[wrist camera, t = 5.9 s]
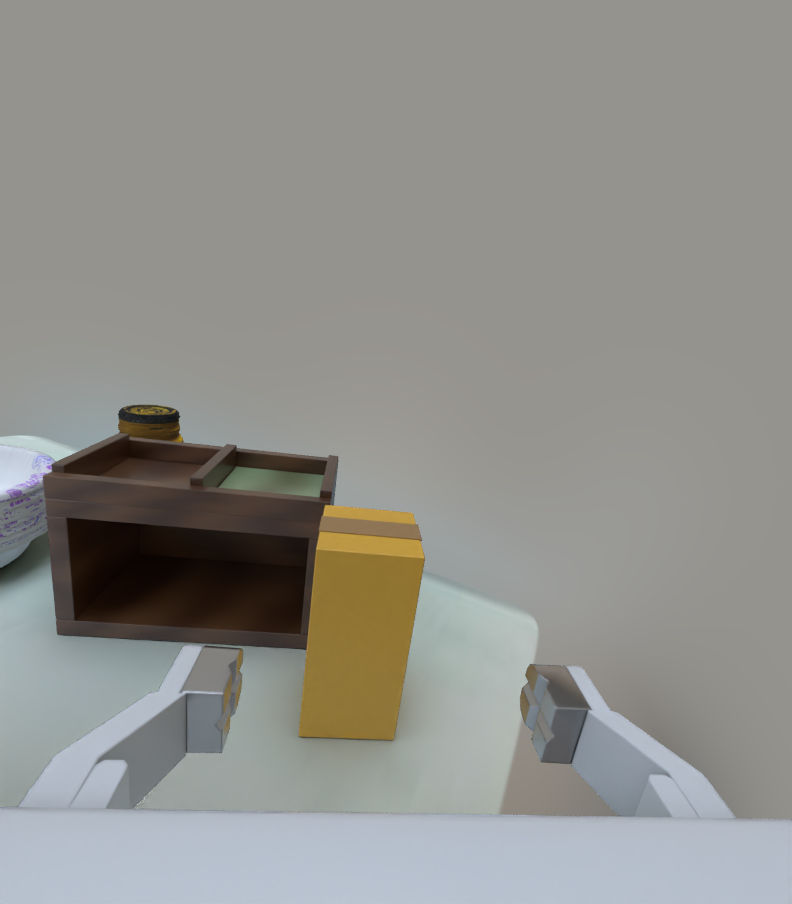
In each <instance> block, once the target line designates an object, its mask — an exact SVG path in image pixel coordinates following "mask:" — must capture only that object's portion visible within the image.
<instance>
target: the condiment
mask: <svg viewBox="0 0 792 904" xmlns="http://www.w3.org/2000/svg"><path fill="white" fill-rule="evenodd" d="M118 415H119V425H118V428H119V430H120V433H124V434H129V437H134V438H144V439H153V440H163V441H172V442H182V443H183V438H182V437H181V435H180V434H179V430H180V426H179V418H180V416H179V412H178V411H177V410H175V409H173V408H170V407H166V406H158V405H132V406H126V407H124V408H122V409H121V410H120V411H119V414H118Z"/></svg>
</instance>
